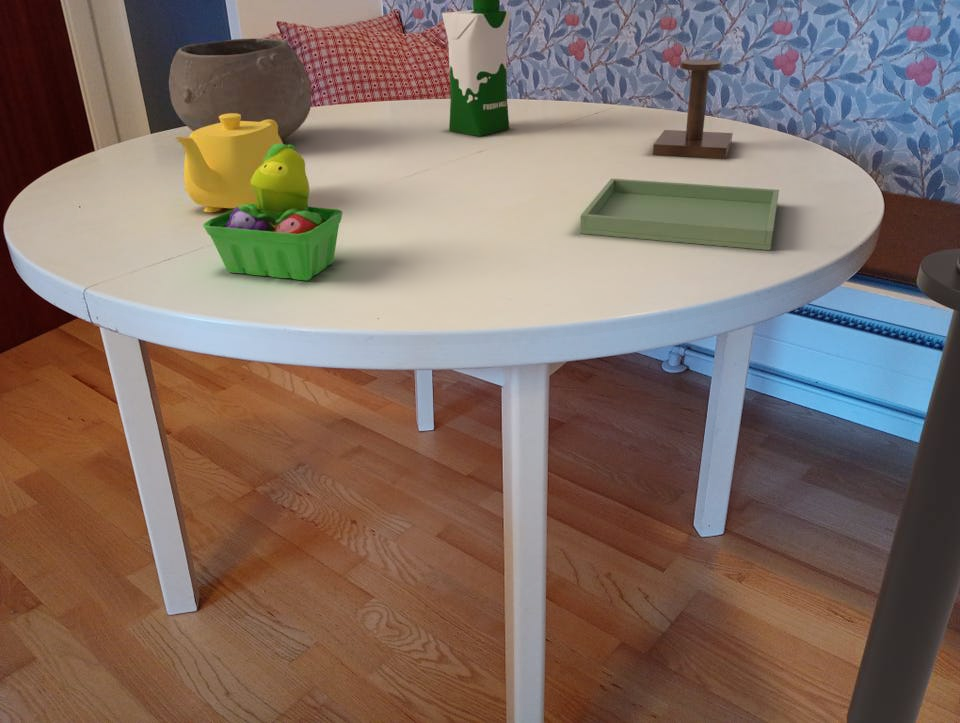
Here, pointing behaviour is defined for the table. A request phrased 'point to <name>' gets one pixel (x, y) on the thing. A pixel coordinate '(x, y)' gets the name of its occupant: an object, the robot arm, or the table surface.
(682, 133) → the stand
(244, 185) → the teapot
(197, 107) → the clay pot
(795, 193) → the table surface
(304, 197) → the fruit basket
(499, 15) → the milk carton
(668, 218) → the tray
